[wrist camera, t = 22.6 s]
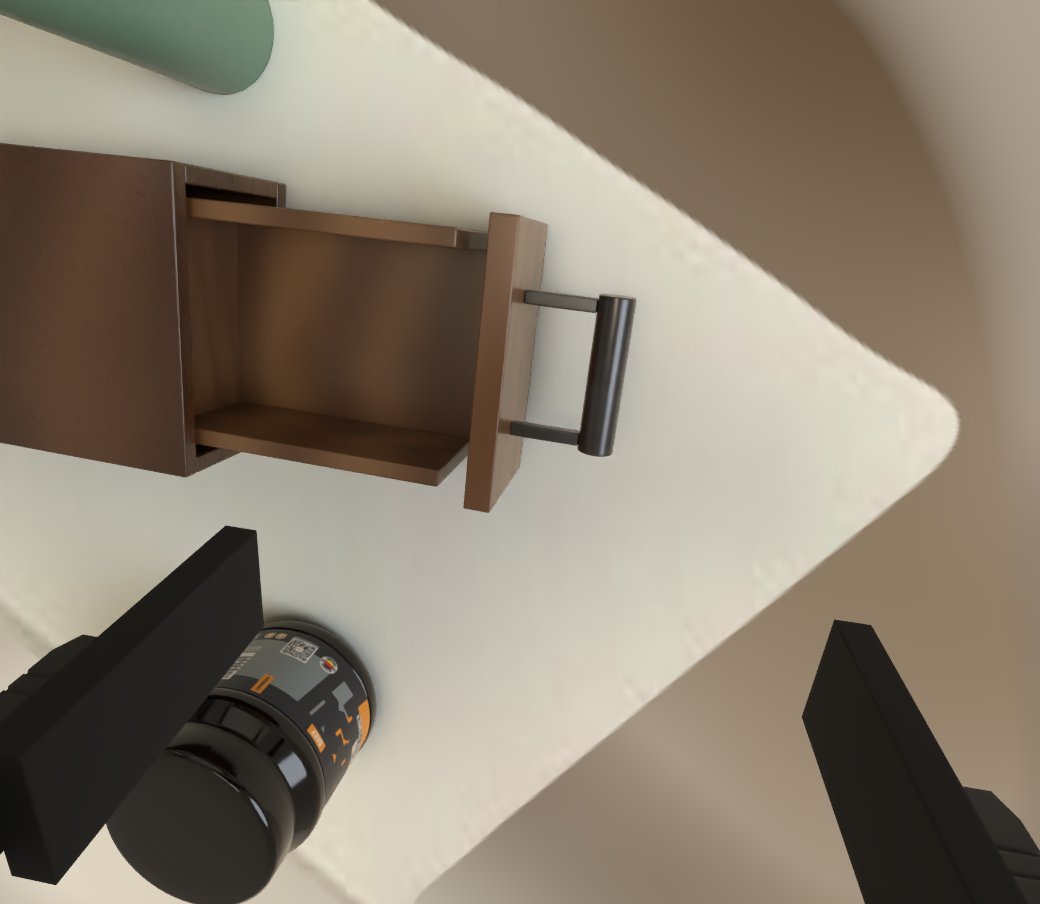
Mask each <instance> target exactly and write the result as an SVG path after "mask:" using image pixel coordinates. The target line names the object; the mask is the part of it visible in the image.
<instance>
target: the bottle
mask: <svg viewBox="0 0 1040 904" xmlns="http://www.w3.org/2000/svg"><path fill="white" fill-rule="evenodd" d="M0 14H1V15H4V16H7V17H9V18H12V19H15V20H17V21H20V22H23V23H25V24H28V25H31V26H33V27H36V28H39V29H41V30H44V31H47V32H49V33H52V34H55V35H57V36H60V37H63V38H65V39H68V40H71V41H74V42H76V43H79V44H82V45H84V46H87V47H90V48H92V49H95V50H98V51H100V52H103V53H106V54H108V55H111V56H114V57H116V58H119V59H122V60H124V61H127V62H130V63H132V64H135V65H138V66H140V67H143V68H146V69H148V70H151V71H154V72H156V73H159V74H162V75H164V76H167V77H170V78H172V79H175V80H178V81H180V82H183V83H186V84H188V85H191V86H194V87H196V88H199V89H202V90H204V91H207V92H210V93H214V94H221V95H226V94H233V93H237V92H239V91H242V90H244V89H245V88H247V87H249V86H250V85H251V84H252V83H254V82H255V81H256V79H257V78H258V77H259V76H260V75H261V73H262V72H263V70H264V68H265V66H266V64H267V62H268V60H269V57H270V53H271V49H272V44H273V20H272V15H271V10H270V7H269V3H268V1H267V0H0Z"/></svg>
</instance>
